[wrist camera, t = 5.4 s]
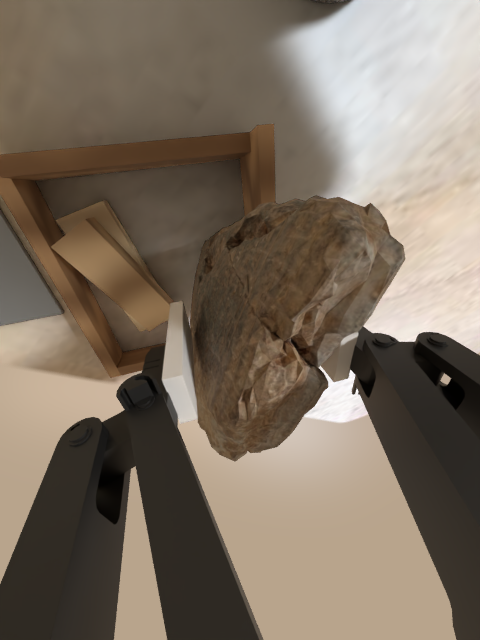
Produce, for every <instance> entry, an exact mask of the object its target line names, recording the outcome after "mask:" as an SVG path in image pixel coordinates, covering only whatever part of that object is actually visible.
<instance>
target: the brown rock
mask: <svg viewBox="0 0 480 640" xmlns="http://www.w3.org/2000/svg"><path fill="white" fill-rule="evenodd" d="M404 260H405V254H404V248H403V245H402V244H401V243H399V242H398V241H397V240H396V239H394V238H393V237H392V236H391V235H390V232H389V229H388V225H387V222H386V220H385V218H384V217H383V216H382V214H381V213H380V211H379V210H378V209H377V208H376V207H374V206H373V205H372V204H371V203H370V204H368V205H367V206H366V207H362V206H359V205H357V204H354V203H352V202H350V201H347V200H345V199H342V198H340V197H336V198H330V199H326V198H323V197H319V196H316V195H315V196H313V197H311V198H309V199H308V200H307V201H303V200H299V199H294V200H291V201H288V202H286V203H283V204H277V203H274V202H268V203H263V204H259V205H258V206H257V207H256V208H255V209H254V210H253V211H251V212H250V213H248V214H247V215H246V216H244V217H243V218H242V219H241V220H239V221H237V222H235V223H234V224H233V225H229V226H228V227H224V228H222V229H221V230H220V231H218V232H217V233H216V234H214V235H213V236H212V237H211V238H210V239H209V240H207V241H205V243H204V245H203V247H202V250H201V254H200V259H199V263H198V266H197V271H196V275H195V282H194V288H193V295H192V304H191V319H190V328H191V333H192V338H193V353H194V368H195V383H196V399H197V414H198V423H199V425H200V427H201V428H202V429H203V430H205V432H206V434H207V436H208V439H209V442H210V444H211V447H212V448H213V449H215V450H216V451H217V452H218V453H219V454H220V455H222V456H224V457H226V458H228V459H231V460H233V461H237V460H238V459H239V458H241V457H242V456H244V455H245V454H246V453H247V451H249V452H250V453H258V452H261V451H263V450H267V449H270V448H275V447H277V446H278V445H280V444H281V443H282V442H283V441H284V440H285V439H286V438H287V437H288V436H289V435H290V434H291V433H292V432H293V431H294V430H295V428H296V427H297V425H298V423H299V422H300V420H301V419H302V417H303V416H304V414H306V413H307V412H308V411H309V410H311V409H312V408H313V407H314V406H315V405H316V403H317V401H318V400H319V398H320V396H321V395H322V393H323V391H324V390H325V389H327V388H328V381H327V379H326V377H325V375H324V373H323V372H322V371H321V370H320V369H319V368H318V367H319V366H320V365H322V364H323V363H324V362H325V361H326V360H327V359H328V358H329V357H330V356H331V355H332V352H333V350H334V349H335V348H337V347H338V345H339V344H340V342H341V341H342V340H343V338H345V337H347V336H349V335H351V334H353V333H355V332H358V331H359V330H360V329H361V328H362V327H363V325H364V324H365V323H366V321H367V320H368V319H369V317H370V316H371V315H372V313H373V311H374V310H375V308H376V306H377V304H378V302H379V301H380V299H381V297H382V296H383V294H384V293H385V291H386V290H387V288H388V287H389V285H390V284H391V282H392V280H393V279H394V277H395V275H396V274H397V272H398V270H399V269H400V267H401V265H402V264H403V262H404Z"/></svg>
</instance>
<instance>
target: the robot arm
mask: <svg viewBox="0 0 480 640" xmlns="http://www.w3.org/2000/svg"><path fill="white" fill-rule="evenodd" d="M312 1H315V2H320V3H338V2H342V1H345V0H312ZM321 367H322V368H323V369H324V370H325V372H326V373H327V374H328V375H329V377H330V378H331V379H332V380H333V382H336V381H340V380H344V379H347V378H348V377H349V372H350V369H351V370H352V371H353V373H354V374H355V375H356V376H355V380H354V384H353V388H352V394H355V392H356V388H357V389H358V391H359V393H358V394H360V396H361V398H362V400H363V403H364V405H365V407H366V409H367V412H368V414H369V416H370V419H371V420H372V423H373V425H374V428H375V430H376V432H377V434H378V437H379V439H380V441H381V444H382V446H383V448H384V450H385V453H386V455H387V457H388V460H389V462H390V464H391V467H392V469H393V471H394V474H395V476H396V478H397V480H398V483H399V485H400V487H401V490H402V492H403V494H404V496H405V499H406V501H407V503H408V506H409V508H410V510H411V512H412V515H413V517H414V519H415V522H416V524H417V526H418V529H419V531H420V533H421V535H422V538H423V540H424V542H425V545H426V546H427V549H428V551H429V554H430V556H431V558H432V561H433V563H434V565H435V567H436V570H437V572H438V574H439V576H440V579H441V581H442V584H443V586H444V588H445V590H446V593H447V595H448V598H449V600H450V603H451V608H452V617H453V627H454V631H455V635H456V639H457V640H480V355H478V354H476V353H475V352H473V351H471V350H470V349H468V348H466V347H465V346H463V345H461V344H460V343H458V342H456V341H455V340H453V339H451V338H449V337H447V336H445V335H442V334H439V333H434V332H423V333H420V334H419V335H418V336H417V339H416V341H415V342H399V341H397V340H396V339H395V338H393V337H391V336H389V335H386V334H382V333H371V332H370V331H368V330H367V329H366V328H364V327H362V328H361V329H360V330H359V331H358V332H355V333H353V334H351V335H349V336H347V337H345V338H343V340H342V341H341V342H340V344H339V345H338V347H337V348H335V349H334V350H333V352H332V355H331V356H330V357H329V358H328V359H327V360H326V361H325V362H324V363H323V364H322V365H321ZM444 373H445V374H447V375H448V376H449V377H450V378H452V379H451V380H450V382H449V384H448V385H446V384H444V383H442V382H441V381H440V380H441V378H442V376H443V374H444ZM116 396H117V398H118V400H119V401H120V403H121V404H122V406H123V408H124V409H125V410H124V411H122V412H121V413H119V414H117V415H115V416H113V417H111V418H109V419H108V420H106V421H104V422H101V421H100V419H99V418H95V417H91V418H85V419H83V420H81V421H79V422H77V423H76V424H74V425H73V426H71V427H70V428H69V429H68V430H67V431H66V432H65V433H64V434H63V435H62V437H61V438H60V440H59V442H58V444H57V446H56V448H55V451H54V453H53V456H52V459H51V461H50V463H49V466H48V468H47V471H46V473H45V475H44V478H43V481H42V483H41V485H40V488H39V490H38V493H37V495H36V498H35V500H34V503H33V505H32V507H31V510H30V512H29V515H28V518H27V520H26V522H25V525H24V527H23V530H22V532H21V534H20V537H19V539H18V542H17V545H16V547H15V549H14V552H13V554H12V557H11V559H10V562H9V564H8V566H7V569H6V571H5V574H4V576H3V579H2V581H1V584H0V640H114V632H115V622H116V611H117V602H118V592H119V582H120V572H121V561H122V551H123V542H124V532H125V522H126V512H127V502H128V492H129V482H130V472H131V468H133V467H135V466H136V470H137V475H138V481H139V486H140V492H141V497H142V503H143V509H144V514H145V520H146V525H147V530H148V535H149V542H150V547H151V552H152V558H153V563H154V569H155V574H156V580H157V585H158V591H159V596H160V602H161V607H162V613H163V618H164V624H165V629H166V635H167V640H263V637H262V635H261V633H260V630H259V628H258V625H257V623H256V620H255V618H254V615H253V613H252V610H251V608H250V605H249V603H248V600H247V598H246V596H245V593H244V590H243V588H242V585H241V583H240V580H239V578H238V575H237V573H236V571H235V568H234V566H233V563H232V561H231V558H230V556H229V553H228V551H227V548H226V546H225V543H224V541H223V538H222V536H221V534H220V531H219V528H218V526H217V523H216V521H215V519H214V516H213V514H212V511H211V509H210V506H209V504H208V501H207V499H206V496H205V494H204V491H203V489H202V486H201V484H200V481H199V479H198V476H197V474H196V471H195V469H194V466H193V464H192V461H191V459H190V456H189V454H188V451H187V450H186V446H185V444H184V442H183V439H182V437H181V434H180V432H179V430H178V427H177V422H178V419H179V421H180V423H185V422H189V421H192V420H196V419H198V414H197V399H196V383H195V368H194V353H193V338H192V333H191V329H190V325H189V322H188V318H187V315H186V311H185V307H184V304H183V301H179V302H173V303H170V311H169V320H168V329H167V338H166V345H163V346H158V347H154V348H151V349H150V350H149V352H148V353H147V354H146V356H145V361H144V365H143V371H142V373H140V374H137V375H134V376H132V377H130V378H129V379H127V380H126V381H125V382H123V383H122V384H121V385H120V387H119V389H118V390H117V395H116Z"/></svg>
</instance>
